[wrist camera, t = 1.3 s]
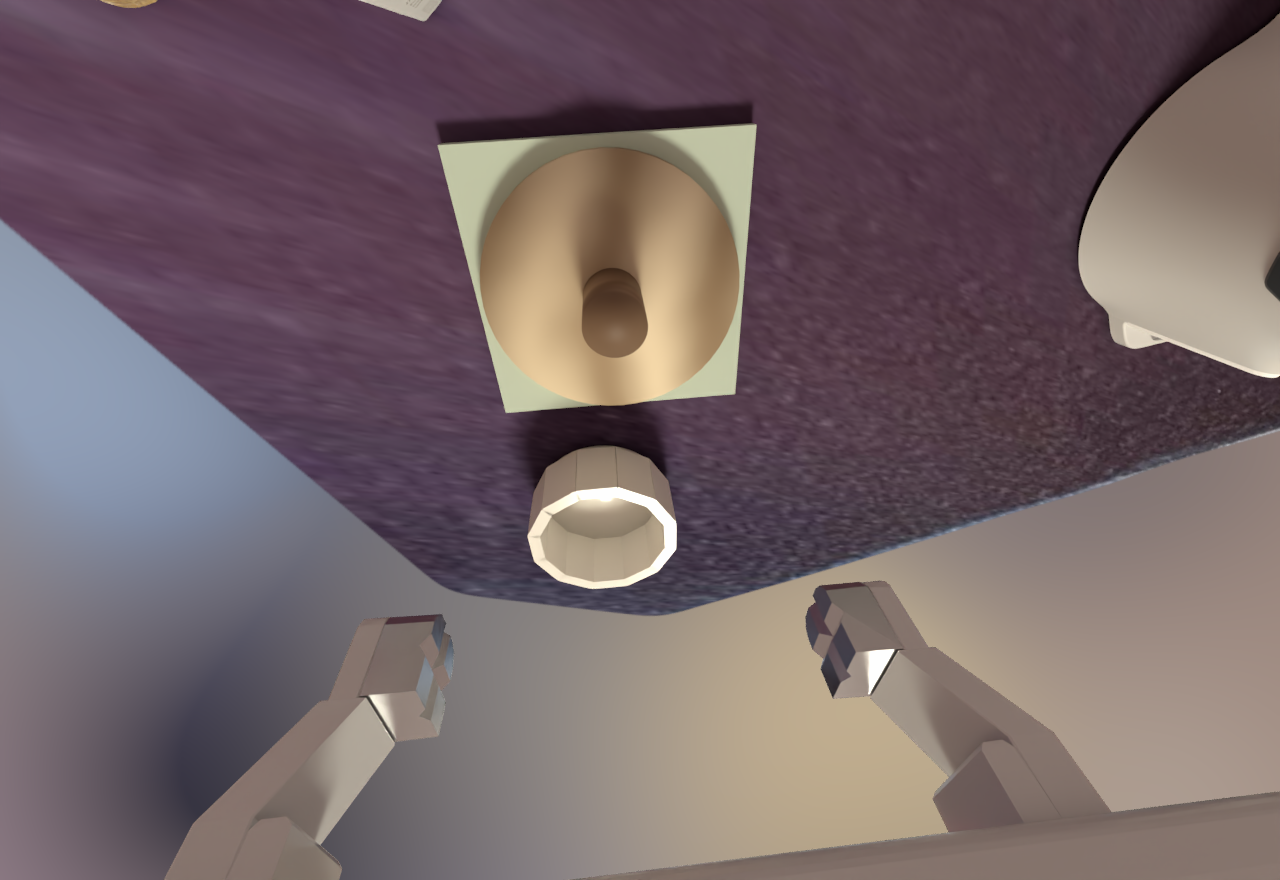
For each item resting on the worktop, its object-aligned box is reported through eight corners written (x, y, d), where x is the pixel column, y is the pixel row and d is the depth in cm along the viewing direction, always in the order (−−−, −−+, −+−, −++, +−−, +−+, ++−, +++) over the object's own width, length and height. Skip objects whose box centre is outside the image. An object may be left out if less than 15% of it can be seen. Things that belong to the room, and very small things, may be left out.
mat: (752, 123, 24) (756, 124, 23) (732, 387, 33) (734, 393, 32) (441, 143, 24) (437, 145, 23) (507, 406, 33) (505, 412, 32)
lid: (744, 137, 24) (775, 150, 20) (728, 388, 32) (747, 432, 28) (451, 157, 23) (422, 174, 19) (512, 405, 32) (500, 454, 28)
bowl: (666, 435, 35) (675, 482, 31) (668, 531, 41) (676, 581, 37) (525, 447, 35) (516, 496, 31) (548, 542, 41) (543, 593, 37)
